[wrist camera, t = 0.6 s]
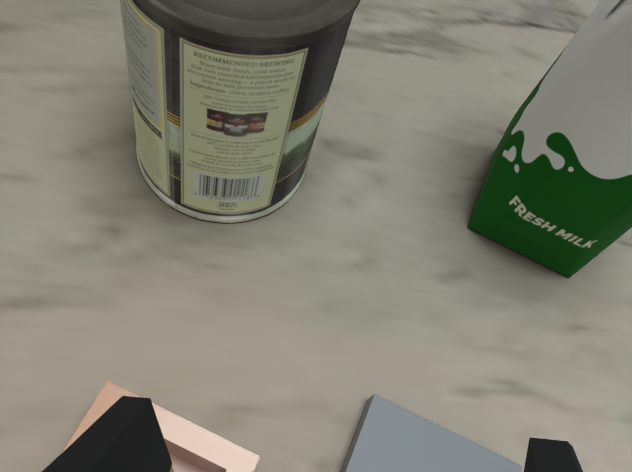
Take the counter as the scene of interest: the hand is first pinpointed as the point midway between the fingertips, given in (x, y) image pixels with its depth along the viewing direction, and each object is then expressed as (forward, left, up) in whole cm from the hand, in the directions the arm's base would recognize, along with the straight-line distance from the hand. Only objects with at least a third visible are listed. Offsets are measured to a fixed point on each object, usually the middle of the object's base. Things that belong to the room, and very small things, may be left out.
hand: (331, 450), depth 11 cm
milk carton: (+23, -9, -18) cm, 31 cm away
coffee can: (+17, +10, -18) cm, 27 cm away
